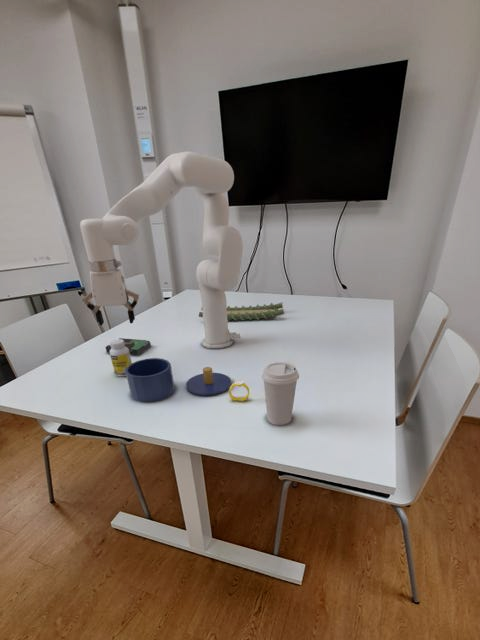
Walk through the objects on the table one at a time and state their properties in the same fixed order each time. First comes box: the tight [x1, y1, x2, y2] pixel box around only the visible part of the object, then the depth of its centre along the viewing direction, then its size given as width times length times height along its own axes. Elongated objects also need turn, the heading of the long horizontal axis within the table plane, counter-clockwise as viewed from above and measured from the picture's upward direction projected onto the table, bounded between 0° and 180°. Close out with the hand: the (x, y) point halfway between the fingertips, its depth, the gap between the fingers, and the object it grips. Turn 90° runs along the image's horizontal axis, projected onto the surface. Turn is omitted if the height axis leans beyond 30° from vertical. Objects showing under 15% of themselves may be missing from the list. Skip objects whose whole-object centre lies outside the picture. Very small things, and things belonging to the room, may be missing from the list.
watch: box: [228, 379, 250, 402], centre depth 105 cm, size 6×3×6 cm, turn 85°
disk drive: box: [105, 337, 152, 356], centre depth 144 cm, size 10×3×15 cm
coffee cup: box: [260, 361, 300, 426], centre depth 93 cm, size 10×10×15 cm
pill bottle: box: [109, 338, 133, 377], centre depth 123 cm, size 6×6×12 cm
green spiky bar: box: [198, 302, 285, 322], centre depth 172 cm, size 41×14×5 cm, turn 88°
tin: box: [125, 357, 175, 403], centre depth 112 cm, size 14×14×8 cm
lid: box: [185, 366, 232, 396], centre depth 114 cm, size 15×15×6 cm
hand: (117, 323), depth 116 cm, fingers open, 9 cm apart
